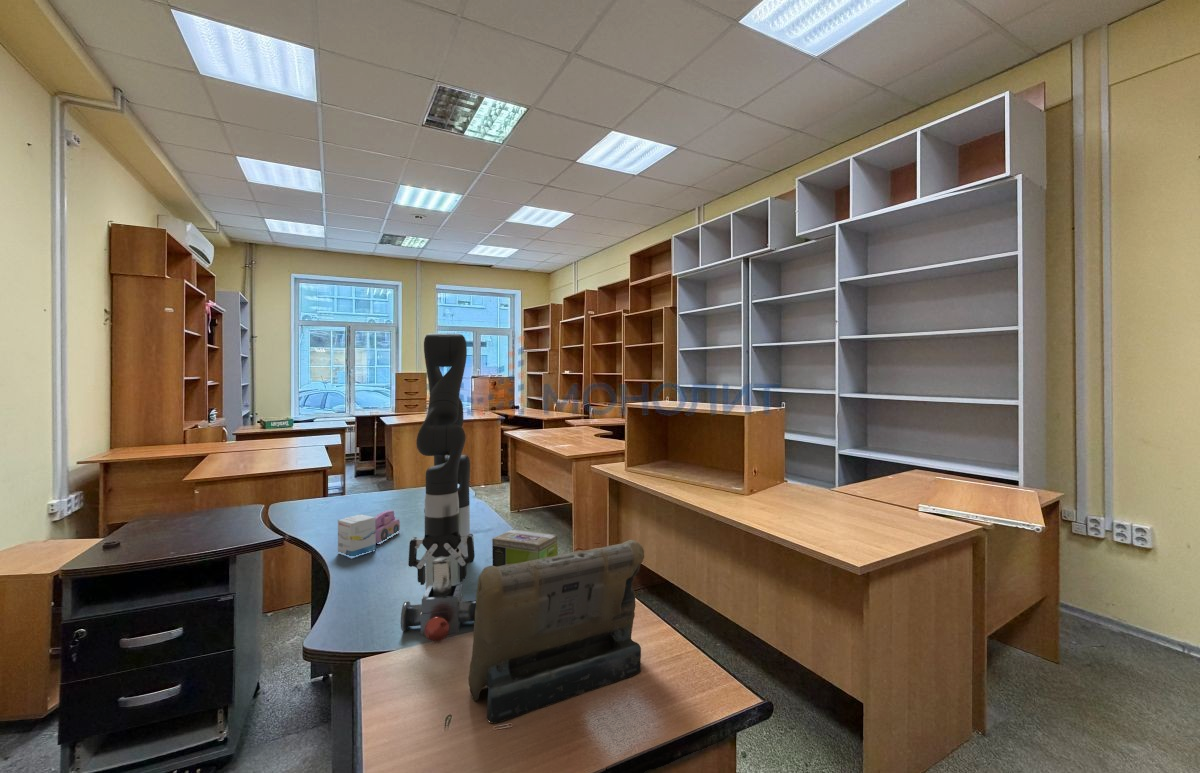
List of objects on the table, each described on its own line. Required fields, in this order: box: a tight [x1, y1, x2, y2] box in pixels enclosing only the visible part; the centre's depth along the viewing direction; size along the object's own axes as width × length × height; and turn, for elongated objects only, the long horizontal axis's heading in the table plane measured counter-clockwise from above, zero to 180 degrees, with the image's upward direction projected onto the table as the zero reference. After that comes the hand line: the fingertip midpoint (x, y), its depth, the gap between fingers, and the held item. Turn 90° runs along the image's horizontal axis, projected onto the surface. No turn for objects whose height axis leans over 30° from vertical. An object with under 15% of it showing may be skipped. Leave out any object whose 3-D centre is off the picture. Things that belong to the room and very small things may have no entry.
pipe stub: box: [432, 558, 452, 597], centre depth 108 cm, size 4×4×10 cm
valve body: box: [400, 582, 477, 642], centre depth 107 cm, size 12×17×8 cm
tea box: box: [491, 528, 559, 566], centre depth 127 cm, size 15×10×15 cm
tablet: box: [468, 539, 645, 724], centre depth 88 cm, size 33×14×25 cm, turn 123°
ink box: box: [337, 513, 377, 556], centre depth 157 cm, size 8×8×12 cm
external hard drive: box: [424, 548, 459, 591], centre depth 126 cm, size 2×8×12 cm, turn 123°
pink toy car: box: [374, 510, 401, 543], centre depth 173 cm, size 18×6×10 cm, turn 174°
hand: (442, 582), depth 109 cm, fingers open, 8 cm apart
